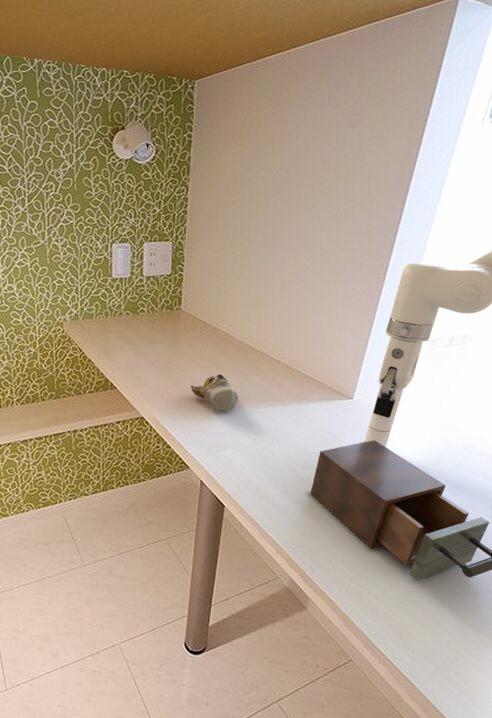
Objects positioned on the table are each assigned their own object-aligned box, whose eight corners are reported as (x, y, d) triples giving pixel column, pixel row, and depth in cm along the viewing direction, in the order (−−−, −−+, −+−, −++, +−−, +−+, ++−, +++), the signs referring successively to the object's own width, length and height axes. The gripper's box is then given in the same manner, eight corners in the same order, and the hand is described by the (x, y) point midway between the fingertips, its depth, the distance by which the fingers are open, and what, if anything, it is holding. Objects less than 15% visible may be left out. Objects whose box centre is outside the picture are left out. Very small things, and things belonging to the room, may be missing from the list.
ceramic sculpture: (210, 385, 105) (190, 366, 118) (208, 417, 108) (188, 395, 122) (251, 382, 107) (226, 364, 121) (247, 414, 111) (223, 392, 124)
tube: (383, 456, 95) (402, 394, 88) (361, 450, 97) (378, 388, 90) (385, 447, 98) (403, 386, 91) (364, 441, 100) (381, 382, 93)
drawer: (504, 586, 63) (526, 545, 59) (447, 608, 59) (466, 566, 56) (398, 506, 78) (410, 470, 75) (347, 519, 75) (358, 483, 71)
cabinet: (427, 531, 74) (445, 485, 70) (370, 548, 70) (385, 501, 66) (362, 481, 86) (374, 439, 82) (310, 493, 82) (320, 451, 78)
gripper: (421, 343, 77) (394, 431, 85) (438, 323, 89) (412, 403, 97) (376, 334, 82) (354, 419, 89) (398, 316, 93) (376, 393, 101)
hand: (384, 410), depth 93 cm, fingers closed on tube, 4 cm apart
